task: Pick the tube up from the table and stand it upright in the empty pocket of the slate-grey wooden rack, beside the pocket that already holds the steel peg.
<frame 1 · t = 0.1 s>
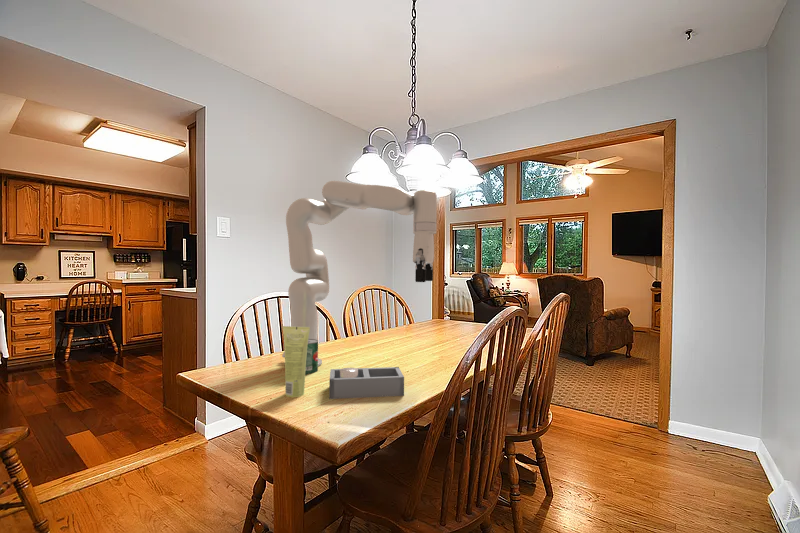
hand: (424, 281, 126), 31 cm above the table, tool pointing down, fingers open, 9 cm apart
tube: (295, 398, 105), on the table
canned tomato: (305, 374, 128), on the table
rack: (366, 394, 108), on the table
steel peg: (348, 391, 108), point 1 cm above the table, touching rack
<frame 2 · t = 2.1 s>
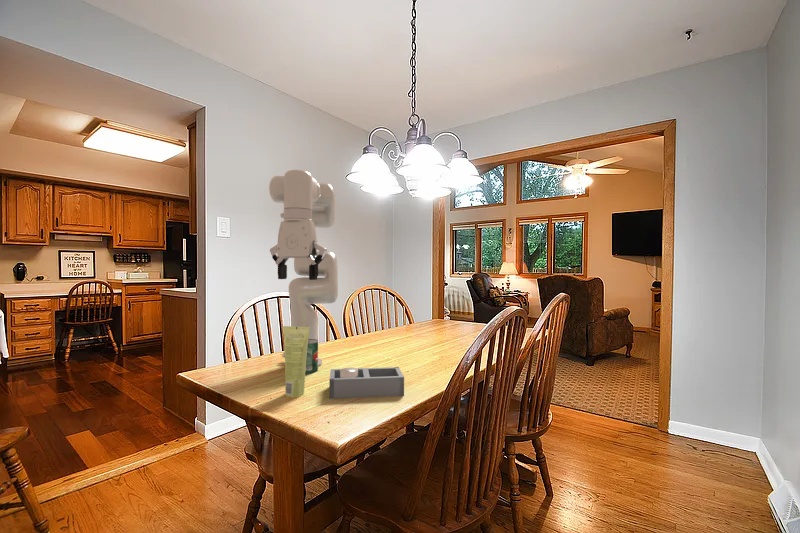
hand: (297, 279, 105), 32 cm above the table, tool pointing down, fingers open, 9 cm apart
nothing on the table moved.
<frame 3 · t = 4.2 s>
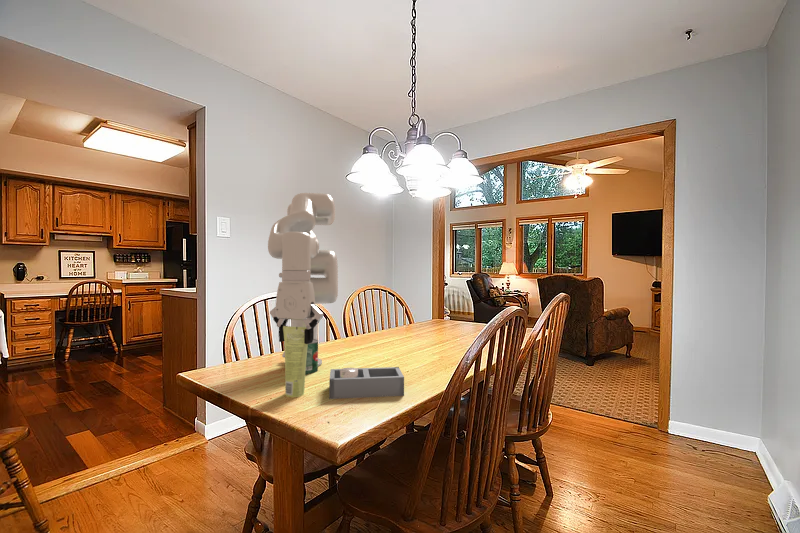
hand: (296, 341, 105), 15 cm above the table, tool pointing down, fingers closed on tube, 7 cm apart
tube: (295, 398, 105), on the table, touching gripper
everything else where it was.
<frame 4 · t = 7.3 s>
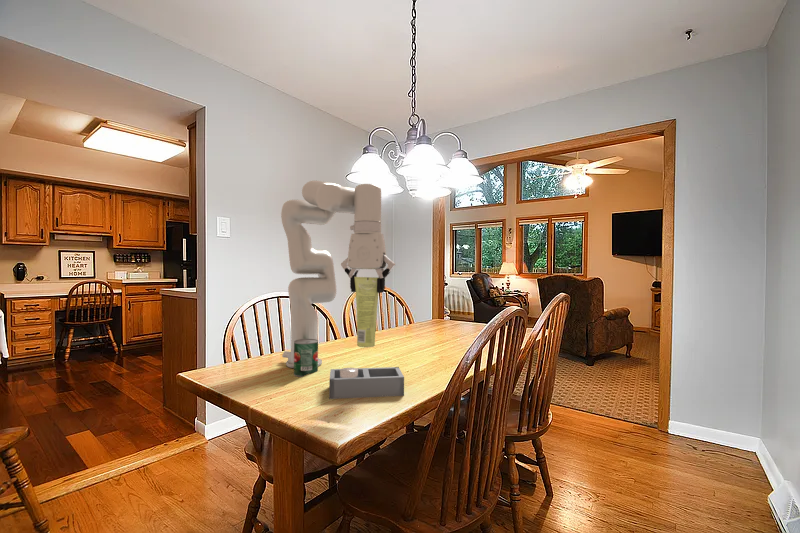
hand: (367, 291, 108), 29 cm above the table, tool pointing down, fingers closed on tube, 7 cm apart
tube: (366, 347, 108), point 13 cm above the table, touching gripper
everything else where it was.
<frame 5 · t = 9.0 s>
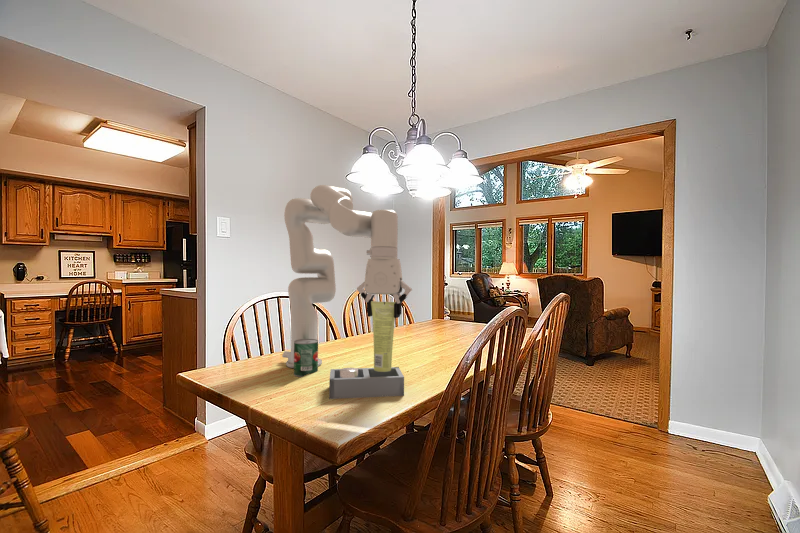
hand: (383, 316, 109), 22 cm above the table, tool pointing down, fingers closed on tube, 7 cm apart
tube: (383, 371, 109), point 6 cm above the table, touching gripper
everything else where it was.
when the fingers open (18 cm above the table, at t = 10.4 s): tube drops 1 cm, resting on rack.
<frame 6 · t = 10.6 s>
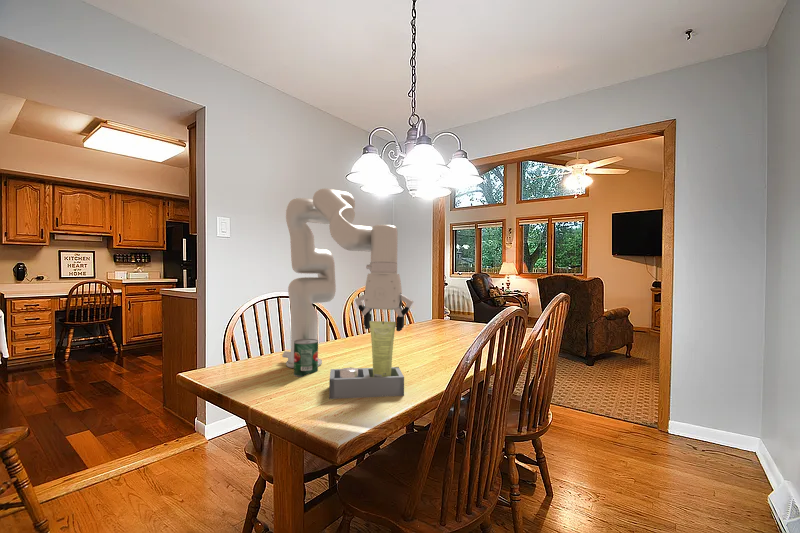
hand: (383, 329, 109), 18 cm above the table, tool pointing down, fingers open, 9 cm apart
tube: (382, 390, 109), point 1 cm above the table, touching rack
everything else where it was.
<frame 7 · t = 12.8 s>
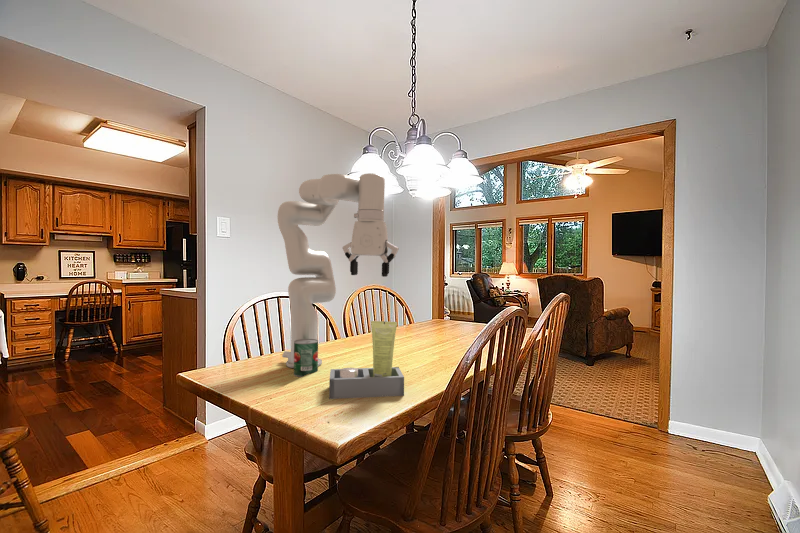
hand: (369, 275, 113), 33 cm above the table, tool pointing down, fingers open, 9 cm apart
nothing on the table moved.
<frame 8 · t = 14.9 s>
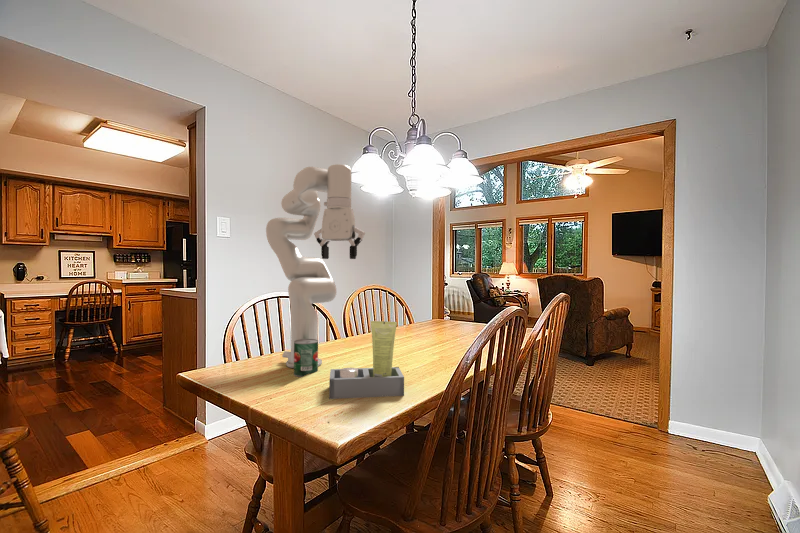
hand: (338, 258, 122), 38 cm above the table, tool pointing down, fingers open, 9 cm apart
nothing on the table moved.
at the end: tube 0.2 cm from the target spot, point 0.8 cm above the table; tube tilted 0°; the gripper is holding nothing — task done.
